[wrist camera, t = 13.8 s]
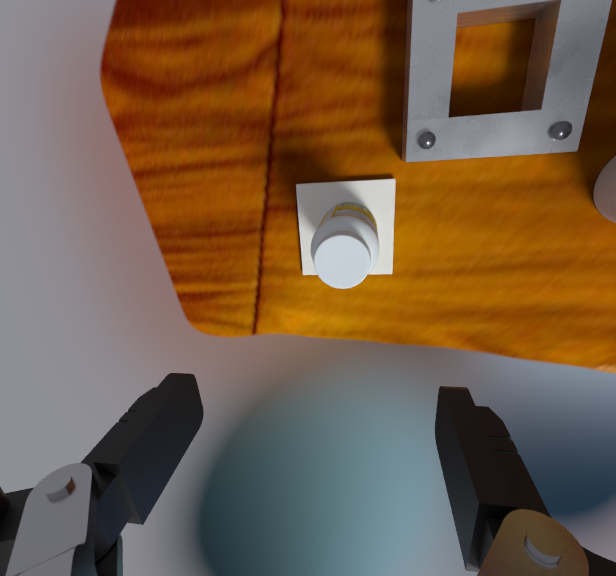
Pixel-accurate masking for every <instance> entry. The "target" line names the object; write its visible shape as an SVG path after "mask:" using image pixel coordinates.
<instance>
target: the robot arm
mask: <svg viewBox="0 0 616 576" xmlns="http://www.w3.org/2000/svg"><path fill="white" fill-rule="evenodd" d="M202 420H203V406H202V402H201V398H200V394H199V389H198V385H197V382H196V378H195V376H194V375H193V374H184V373H170V374H168V375H167V376H166V377H165V379H164V380H163V381H162V382H161V383H160V384H159V386H158V387H157V388H156V387H154V388H152V389H151V390H149V391H148V392H146V393H145V394H143V395H142V396H141V397H139V398H138V399H137V401H135V403H134V404H133V405H132V406H131V407H130V408H129V410H128V412H126V413H125V414H124V415H123V416H122V417H121V418H120V419H119V422H118V423H116V424H115V425H114V426H113V427H112V428H111V429H110V431H109V432H108V433H107V434H106V435H105V436H104V437H103V439H102V440H101V441H100V442H99V443H98V444H97V445H96V446H95V447H94V448H93V450H92V451H91V452H90V453H89V454H88V455H87V456H86V457H85V459H84V460H83V461H82V462H81V463H76V464H70V465H67V466H64V467H62V468H60V469H57V470H56V471H54V472H52V473H51V474H49V475H48V476H46V477H45V478H44V479H42V480H41V481H40V482H39V483H38V484H37V485H36V486H35V487H34V488H30V489H25V490H20V491H16V492H10V493H4V492H3V490H2V489H1V487H0V576H123V541H122V535H121V531H122V530H123V528H124V527H125V525H126V524H127V522H128V523H134V524H142V525H143V524H144V522H145V521H146V519H147V517H148V515H149V514H150V512H151V510H152V509H153V507H154V505H155V503H156V502H157V500H158V498H159V497H160V495H161V493H162V491H163V490H164V488H165V486H166V485H167V483H168V481H169V479H170V478H171V476H172V474H173V473H174V471H175V469H176V468H177V466H178V464H179V462H180V461H181V459H182V457H183V456H184V454H185V452H186V450H187V449H188V447H189V445H190V443H191V442H192V440H193V438H194V437H195V435H196V433H197V432H198V430H199V428H200V426H201V423H202ZM435 439H436V445H437V450H438V454H439V459H440V463H441V467H442V471H443V476H444V479H445V484H446V488H447V492H448V497H449V501H450V505H451V509H452V514H453V518H454V522H455V526H456V531H457V535H458V539H459V543H460V547H461V551H462V556H463V560H464V564H465V569H466V570H467V571H474V572H479V573H478V575H477V576H616V562H613V561H611V560H608V559H606V558H603V557H601V556H599V555H597V554H594V553H592V552H591V551H589V550H587V549H585V548H584V547H582V546H581V545H580V544H579V543H578V541H577V540H576V539H575V537H574V536H573V535H572V534H571V533H570V532H569V531H568V530H567V529H566V528H565V527H563V526H562V525H561V524H560V523H558V522H557V521H555V520H554V519H552V517H551V516H550V514H549V513H548V511H547V509H546V507H545V505H544V503H543V501H542V499H541V497H540V495H539V493H538V491H537V489H536V487H535V485H534V483H533V481H532V479H531V477H530V475H529V473H528V471H527V469H526V467H525V465H524V463H523V461H522V459H521V457H520V455H518V451H517V448H516V447H515V444H514V443H513V441H511V437H510V434H509V432H508V430H507V428H506V426H505V424H504V422H503V421H502V420H501V419H500V418H499V417H498V416H497V415H496V414H495V413H494V412H493V411H492V410H491V409H490V408H489V407H482V406H475V404H474V401H473V399H472V397H471V394H470V392H469V390H468V389H467V388H466V387H446V386H440V388H439V393H438V402H437V411H436V420H435Z"/></svg>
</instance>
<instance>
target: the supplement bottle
mask: <svg viewBox="0 0 616 576" xmlns="http://www.w3.org/2000/svg"><path fill="white" fill-rule="evenodd" d="M378 256H379V239H378V231H377V224H376V220H375V218H374V216H373V214H372V213H371V212H370V211H369V210H368V209H367V208H366V207H365V206H363V205H361V204H359V203H355V202H343V203H339V204H337V205H335V206H333V207H332V208H331V209H330V210H329V211H328V212H327V213H326V214H325V216H324V217H323V219H322V221H321V223H320V225H319V226H318V228H317V230H316V232H315V233H314V235H313V238H312V241H311V257H312V260H313V263H314V267H315V270H316V273H317V274H318V276H319V277H320V279H321V280H322V281H323V282H325V283H326V284H328V285H329V286H332V287H335V288H341V289H345V288H350V287H353V286H356V285H358V284H359V283H360V282H362V281H363V280H364V278H365V277H366V276H367V274H368V273H369V272H370V271H371V270H372V269H373V268H374V266H375V264H376V262H377V260H378Z"/></svg>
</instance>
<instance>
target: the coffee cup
mask: <svg viewBox="0 0 616 576" xmlns="http://www.w3.org/2000/svg"><path fill="white" fill-rule="evenodd" d="M593 197H594V203H595V206H596V208H597V210H598V211H599V213H600V214H601V215H602V216H604V217H605V218H607V219H608V220H610V221H613V222H615V223H616V156H615V157H614V158H612V159H611V160H610V161H609V162H608V163H607V165H606V166H605V167H604V168H603V170H602V171H601V173H600V174H599V176H598V178H597V180H596V183H595V187H594V193H593Z"/></svg>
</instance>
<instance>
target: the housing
mask: <svg viewBox="0 0 616 576" xmlns="http://www.w3.org/2000/svg"><path fill="white" fill-rule="evenodd" d="M611 3H612V0H408V1H407V26H406V52H405V77H404V103H403V129H402V154H401V160H402V161H404V162H417V161H432V160H448V159H464V158H479V157H495V156H511V155H527V154H542V153H558V152H574V151H577V150H578V146H579V142H580V137H581V133H582V129H583V124H584V120H585V116H586V111H587V107H588V103H589V98H590V94H591V90H592V85H593V81H594V77H595V72H596V68H597V64H598V59H599V55H600V51H601V46H602V42H603V38H604V33H605V29H606V25H607V20H608V16H609V12H610V7H611ZM534 18H536V19H535V25H534V31H533V37H532V43H531V50H530V56H529V62H528V68H527V74H526V81H525V87H524V93H523V99H522V105H521V111H520V112H509V113H497V114H485V115H474V116H462V117H450V118H448V117H449V105H450V94H451V82H452V71H453V59H454V48H455V36H456V28H463V27H471V26H479V25H487V24H494V23H502V22H510V21H518V20H526V19H534Z"/></svg>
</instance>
